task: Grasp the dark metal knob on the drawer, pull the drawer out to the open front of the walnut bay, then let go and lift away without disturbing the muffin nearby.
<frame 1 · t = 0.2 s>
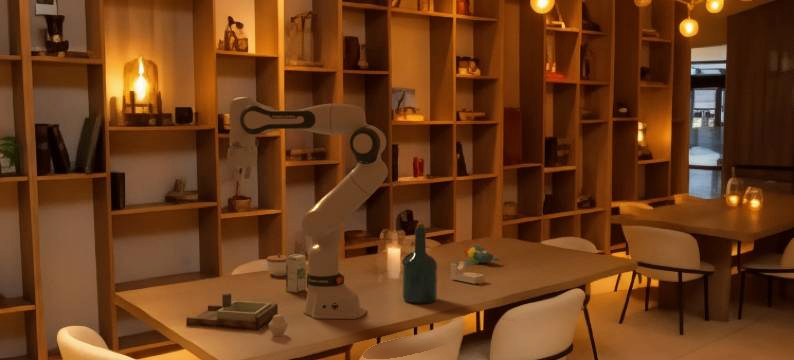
hand: (242, 179, 265), 47 cm above the table, fingers open, 8 cm apart
bay: (233, 320, 252), on the table
wine bottle: (418, 300, 281), on the table
bracket: (467, 282, 313), on the table
syrup box: (295, 291, 294), on the table
green parrot figure: (478, 264, 351), on the table
drawer: (243, 306, 250), point 5 cm above the table, slide at 0.0 cm
muffin: (278, 335, 236), on the table
lidded jar: (279, 275, 323), on the table
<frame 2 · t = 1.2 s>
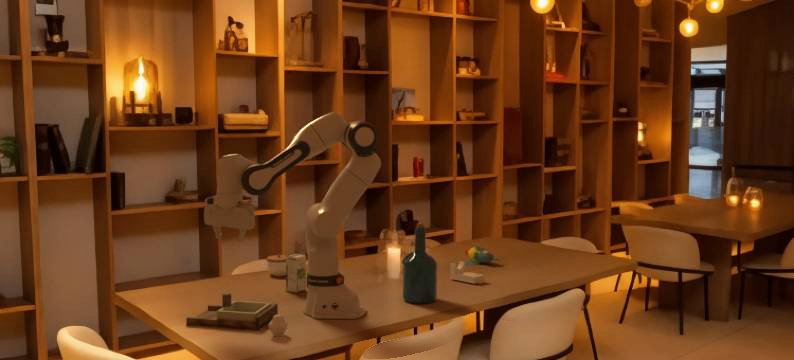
hand: (229, 239, 254), 27 cm above the table, fingers open, 8 cm apart
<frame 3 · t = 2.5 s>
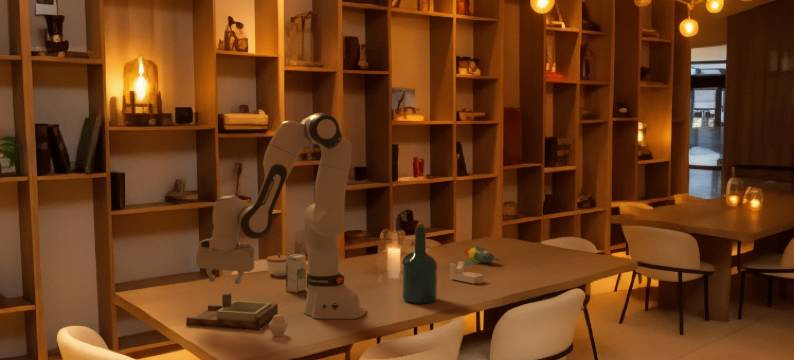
hand: (225, 282, 251), 13 cm above the table, fingers open, 8 cm apart
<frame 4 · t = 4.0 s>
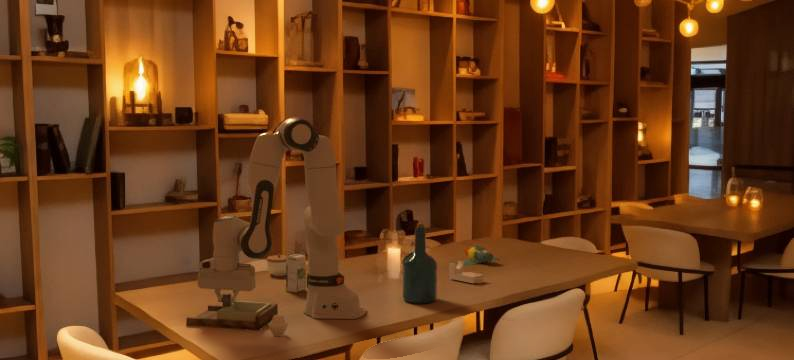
hand: (226, 302, 252), 6 cm above the table, fingers closed on drawer, 3 cm apart
drawer: (243, 306, 250), point 5 cm above the table, slide at 0.0 cm, touching gripper
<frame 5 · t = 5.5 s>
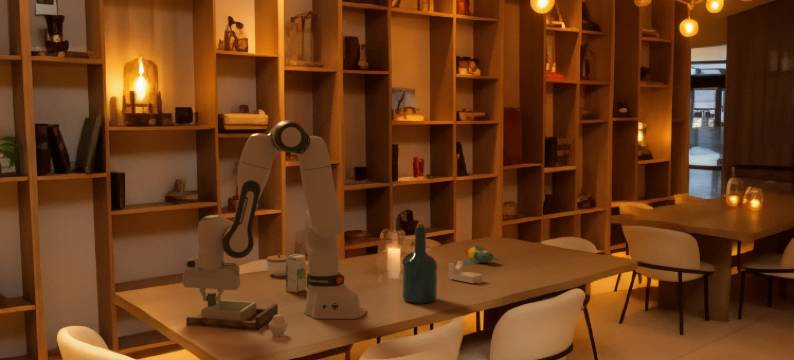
hand: (211, 300, 253), 6 cm above the table, fingers closed on drawer, 3 cm apart
drawer: (228, 305, 252), point 5 cm above the table, slide at 5.6 cm, touching gripper
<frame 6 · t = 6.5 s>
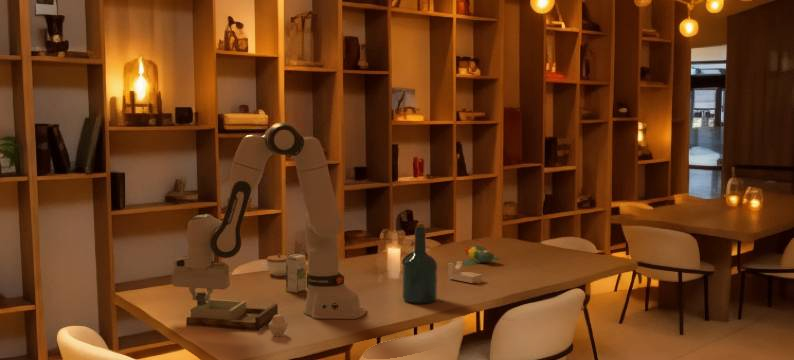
hand: (201, 300, 253), 6 cm above the table, fingers closed on drawer, 3 cm apart
drawer: (217, 305, 252), point 5 cm above the table, slide at 9.5 cm, touching gripper
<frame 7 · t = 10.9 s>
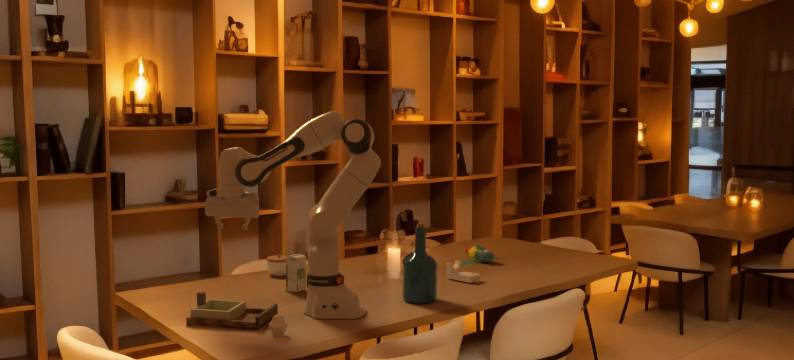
hand: (232, 229, 266), 29 cm above the table, fingers open, 8 cm apart
green parrot figure: (479, 263, 355), on the table
drawer: (217, 305, 252), point 5 cm above the table, slide at 9.5 cm
at the end: drawer slide at 9.5 cm; the gripper is holding nothing; muffin moved 0.2 cm from its start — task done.
